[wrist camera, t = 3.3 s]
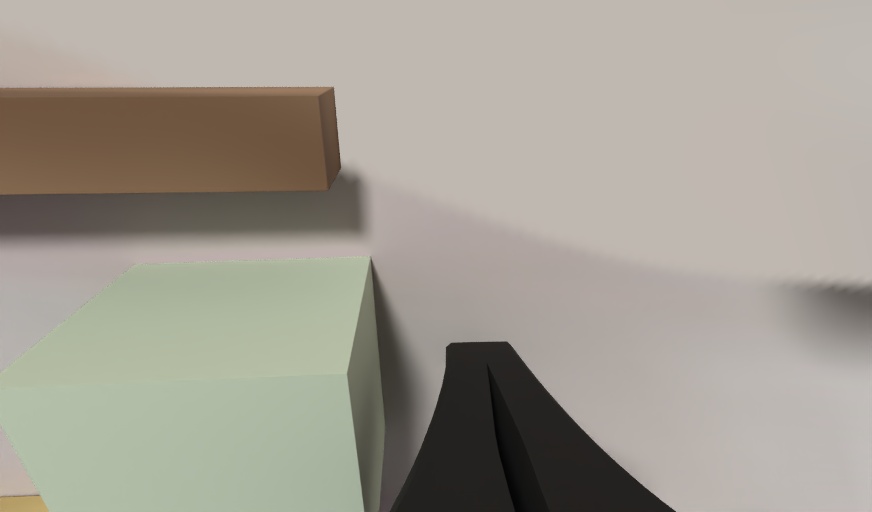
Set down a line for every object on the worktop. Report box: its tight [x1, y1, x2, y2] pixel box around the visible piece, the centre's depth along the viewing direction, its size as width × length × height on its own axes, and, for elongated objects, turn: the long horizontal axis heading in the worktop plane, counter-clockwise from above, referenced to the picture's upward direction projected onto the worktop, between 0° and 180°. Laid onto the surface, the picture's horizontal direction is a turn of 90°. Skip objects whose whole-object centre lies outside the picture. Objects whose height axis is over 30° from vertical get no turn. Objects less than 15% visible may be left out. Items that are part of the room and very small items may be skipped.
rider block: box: [0, 256, 385, 512], centre depth 9 cm, size 5×5×4 cm
